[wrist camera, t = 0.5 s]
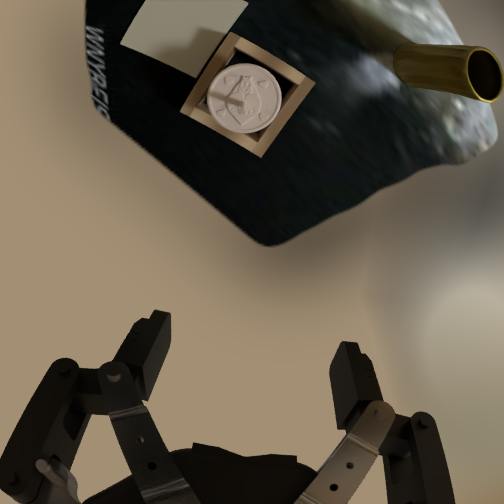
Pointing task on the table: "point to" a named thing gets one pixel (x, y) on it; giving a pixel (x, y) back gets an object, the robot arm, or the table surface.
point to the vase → (451, 70)
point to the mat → (182, 30)
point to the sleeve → (234, 42)
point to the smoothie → (244, 98)
